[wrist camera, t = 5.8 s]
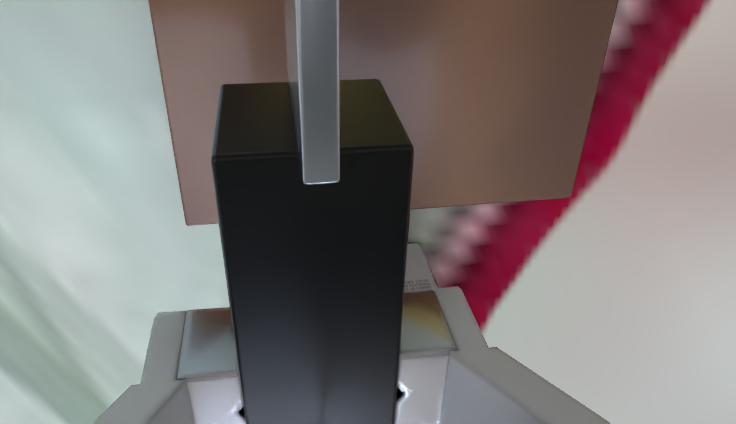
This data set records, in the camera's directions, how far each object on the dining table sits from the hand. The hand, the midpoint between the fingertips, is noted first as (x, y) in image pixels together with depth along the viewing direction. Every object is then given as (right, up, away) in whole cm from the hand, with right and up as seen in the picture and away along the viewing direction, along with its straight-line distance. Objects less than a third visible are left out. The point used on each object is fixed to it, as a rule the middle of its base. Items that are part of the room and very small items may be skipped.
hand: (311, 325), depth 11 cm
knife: (0, +4, -2) cm, 4 cm away
